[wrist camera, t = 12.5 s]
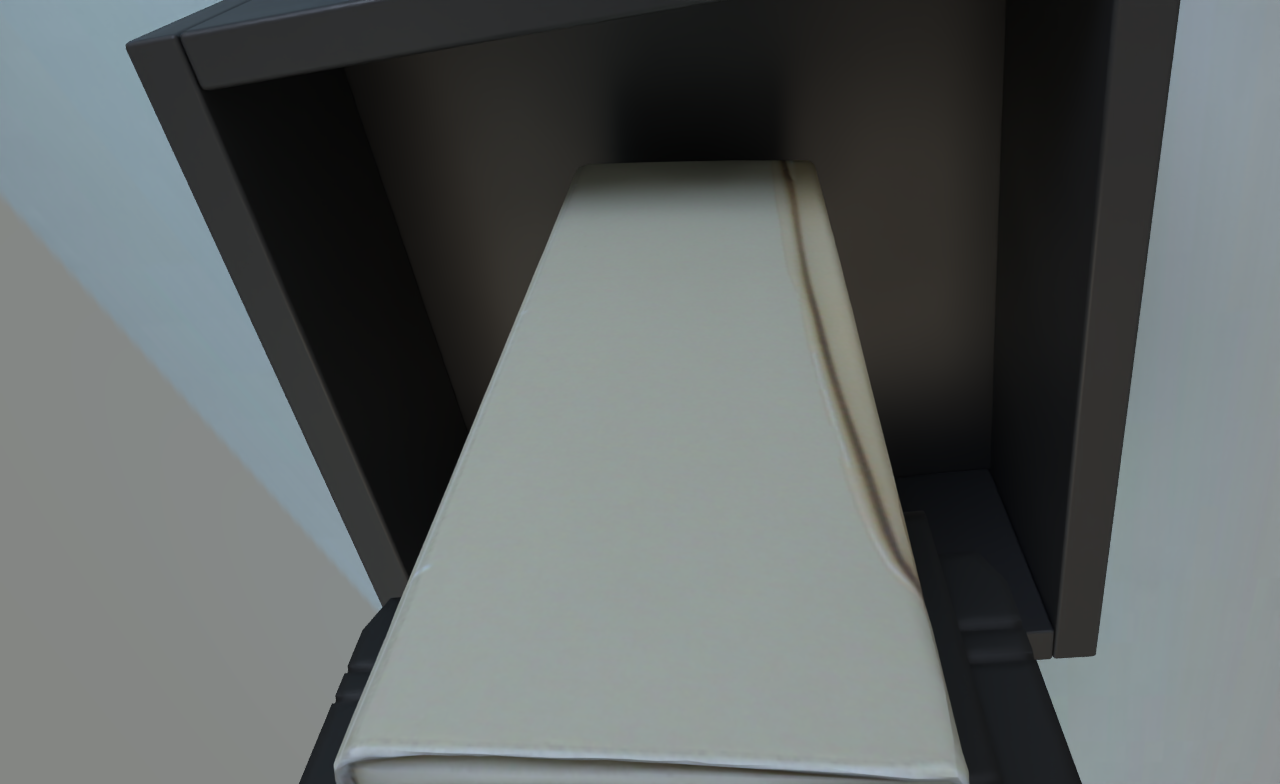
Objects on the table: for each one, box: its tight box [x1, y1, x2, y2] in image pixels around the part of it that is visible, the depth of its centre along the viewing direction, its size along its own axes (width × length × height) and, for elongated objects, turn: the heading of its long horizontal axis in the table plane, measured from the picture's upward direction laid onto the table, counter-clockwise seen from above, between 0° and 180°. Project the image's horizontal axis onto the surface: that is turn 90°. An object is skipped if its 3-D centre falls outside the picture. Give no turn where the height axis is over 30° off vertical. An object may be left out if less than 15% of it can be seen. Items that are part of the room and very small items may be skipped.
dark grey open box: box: [126, 0, 1180, 660], centre depth 17 cm, size 14×14×6 cm
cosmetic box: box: [334, 160, 969, 784], centre depth 13 cm, size 6×4×12 cm
